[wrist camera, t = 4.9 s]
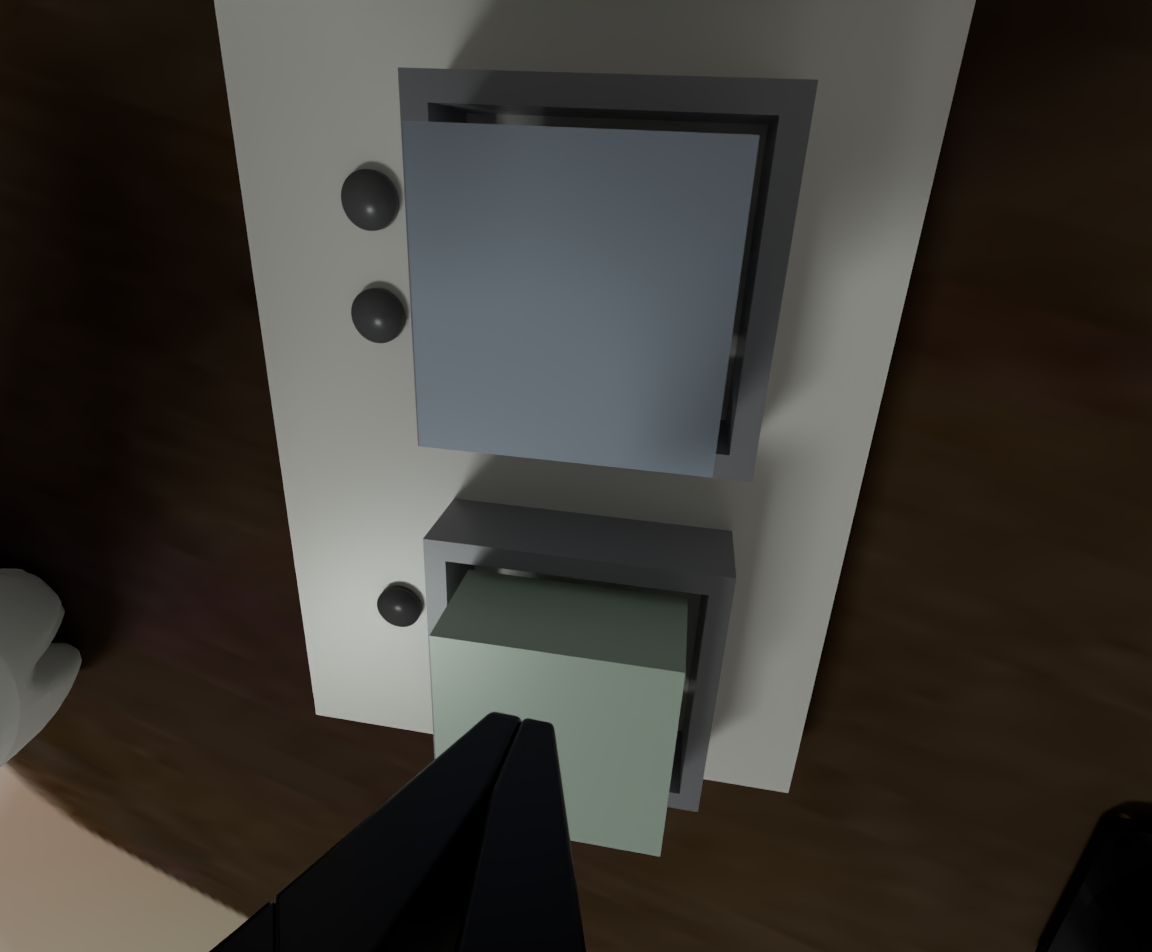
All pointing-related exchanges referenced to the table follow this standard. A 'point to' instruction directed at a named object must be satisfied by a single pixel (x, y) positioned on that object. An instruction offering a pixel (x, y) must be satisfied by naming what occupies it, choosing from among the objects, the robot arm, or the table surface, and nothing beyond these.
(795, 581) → the button board
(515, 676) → the one dot button
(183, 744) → the table surface
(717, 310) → the two dot button
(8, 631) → the water bottle
